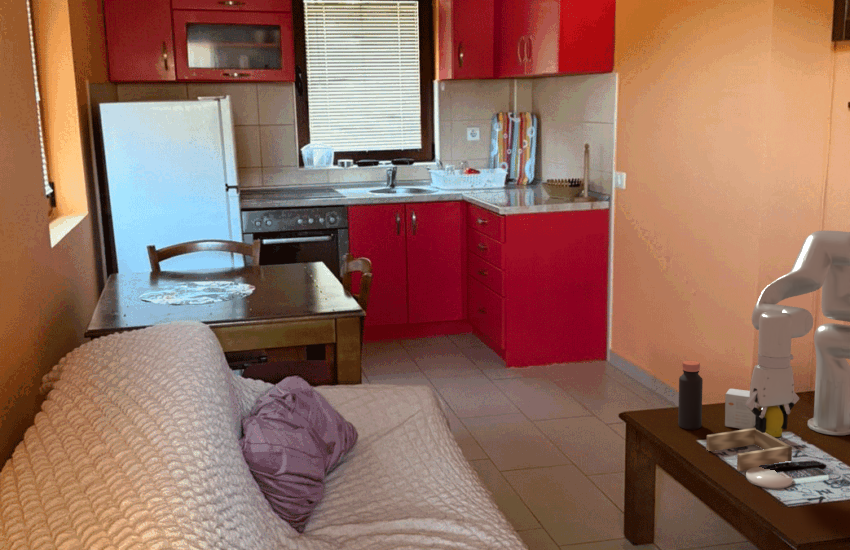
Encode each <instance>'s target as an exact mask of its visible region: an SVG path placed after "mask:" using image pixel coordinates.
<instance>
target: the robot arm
mask: <svg viewBox="0 0 850 550" xmlns="http://www.w3.org/2000/svg"><path fill="white" fill-rule="evenodd" d="M820 289H821V302H820V303H821V313H822V315H823V316H824V317H825V318H827V319H829V320H835V321H840V322H847V323H850V231H842V230H817V231H813V232H812V233H811V234H809V235H808V236H806V238H805V239H804V240H803V243H802V245H801V246H800V249H799V251H798V253H797V256H796V258H795V261H794V263H793V265H792V267H791V269H790V270H789V272H788V273H786V274H784V275H781V276H779V277H778V278H776V279H775V280H773V281H772V282H771V283H770V284H768V285H767V286H765V287H764V289H762V291H761V292H760V293H759V294H760V295H759V297H758V299H757V301H756V303H755V305H754V307H753V310H752V313H751V324H752V327H754V329H756V330H757V331H758V342H757V344H758V347H757V349H758V350H757V364H756V365H754V368H753V370H752V375H751V380H750V387H749V391H750V398H749V399H748V400H747V402H746V403H745V406H746V407H747V408H749V409H750V410H751V411H752V412H753V414H754V415H756V418H755V426H754V428H756V430H758V431H760V432H762V433H765V432H766V418H765V417H764V415H765V413H766V410H767V407H770V406H778V407H779V408H780V409H781V411H782V413H783V425H782V427H781V428H782V430H787V429H788V418H789V417H788V415H790V414H791V410H792V409H793V408H794V406H795V405H796V404H797V402H798V401H799V400H800V397H799V395H797V393H796V392H795V381H794V371H793V367H792V365H791V360H792V361H793V359H794V355H793V354H792V339H797V338H803V337H805V336H806V335H808V333H810V332H811V330H812V328H813V326H814V317H813V315H812V313H811V311H810V310H808V309H805V308H804V307H800V306H799V307H797V306H790V305H782V304H778V303H780V302H782V301H784V300H786V299H789V298H793V297H797V296H802V295H807V294H810V293H813V292H816V291H818V290H820ZM813 345H814V351H815V367H816V368H815V384H814V385H815V387H814V405H813V406H814V407H813V417H812V418H809V419H808V420H807V427H808V428H809V429H810V430H812V431H814V432H817V433H820V434H824V435H828V436H829V435H830V436H846V435H847V436H848V435H850V364H849V362H848V360H850V325H849V324H841V323H832V322H829V323H828V322H827V323H823V324H820V325H819V326H817V327H816V329H815V331H814V336H813ZM755 402H756V406H754V403H755Z"/></svg>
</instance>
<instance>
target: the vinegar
mask: <svg viewBox="0 0 850 550" xmlns="http://www.w3.org/2000/svg"><path fill="white" fill-rule="evenodd" d="M700 363H701V362H699V361H696V360H684V361H682V372H683V373H682V374H681V375H680V376H678V377H679V378H678V410H677V411H678V413H677V415H678V417H677V418H678V419H677V420H678V421H677V423H678V424H677V425H678V426H679V427H680V428H681V429H684V430H698V429H700V428H702V421H703V420H702V419H703V418H702V416H703V415H702V414H703V383H704V382H703V380H704V379H703V378H702V377H701V375H700V374H699V373H700V369H701V368H700V367H701V366H700Z"/></svg>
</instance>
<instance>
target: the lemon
mask: <svg viewBox="0 0 850 550" xmlns="http://www.w3.org/2000/svg"><path fill="white" fill-rule="evenodd" d="M764 417H765V418H766V431H768V432H769V433H770V434H772V433H773V432H776V431H778V430H779V429H780V428H781V427H782V425H783V413H782V411H781V409H780V408H779V407H778V405H777V406H770V407H767V410H766V413H765V415H764Z"/></svg>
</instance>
